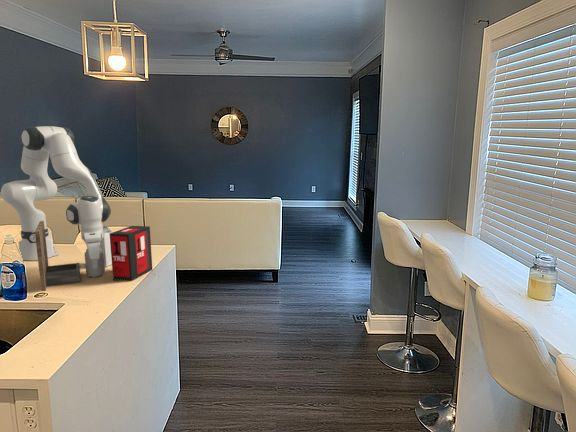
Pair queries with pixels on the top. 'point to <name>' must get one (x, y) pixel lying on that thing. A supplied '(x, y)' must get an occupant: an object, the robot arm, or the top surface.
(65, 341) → the top surface
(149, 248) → the cleaning product box
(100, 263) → the can
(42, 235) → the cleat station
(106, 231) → the milk carton
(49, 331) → the top surface
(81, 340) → the top surface
